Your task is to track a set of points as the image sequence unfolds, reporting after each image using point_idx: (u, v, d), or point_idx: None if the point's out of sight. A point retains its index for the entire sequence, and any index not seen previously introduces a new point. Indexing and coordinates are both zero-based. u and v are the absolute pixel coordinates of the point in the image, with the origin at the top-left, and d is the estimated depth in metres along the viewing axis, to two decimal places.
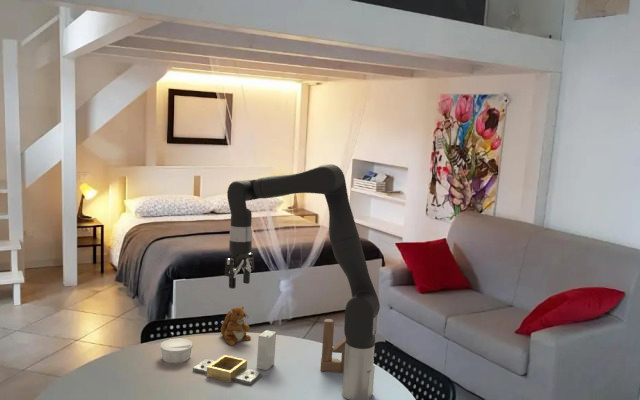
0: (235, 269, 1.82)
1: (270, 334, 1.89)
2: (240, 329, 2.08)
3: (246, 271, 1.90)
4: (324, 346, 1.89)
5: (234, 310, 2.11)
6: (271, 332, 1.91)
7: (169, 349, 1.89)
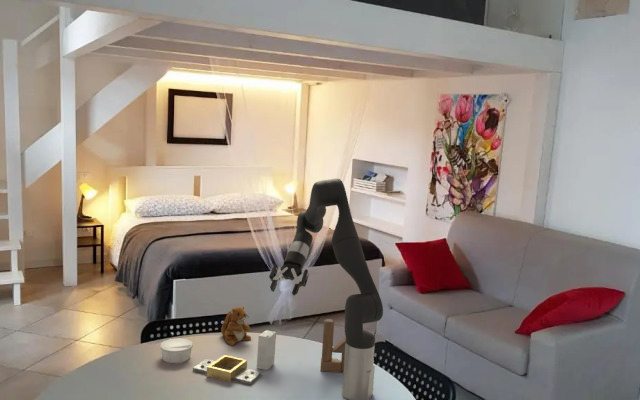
0: None
1: (270, 334, 1.89)
2: (240, 329, 2.08)
3: None
4: (324, 346, 1.89)
5: (234, 310, 2.11)
6: (271, 332, 1.91)
7: (169, 349, 1.89)
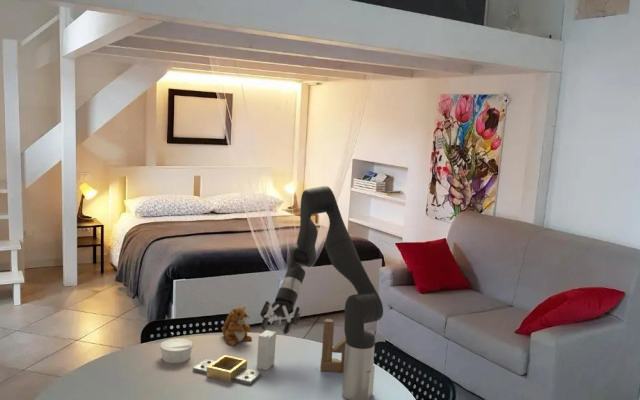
0: None
1: (270, 334, 1.89)
2: (241, 329, 2.08)
3: None
4: (324, 346, 1.89)
5: (235, 310, 2.10)
6: (271, 332, 1.91)
7: (169, 349, 1.89)
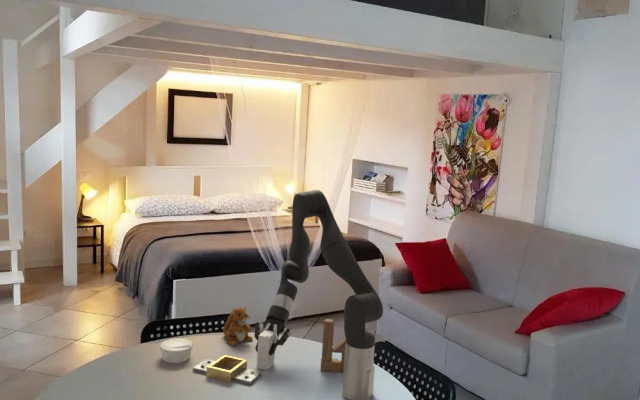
0: None
1: (270, 334, 1.89)
2: (241, 330, 2.08)
3: None
4: (324, 346, 1.89)
5: (236, 310, 2.10)
6: (271, 332, 1.91)
7: (169, 349, 1.89)
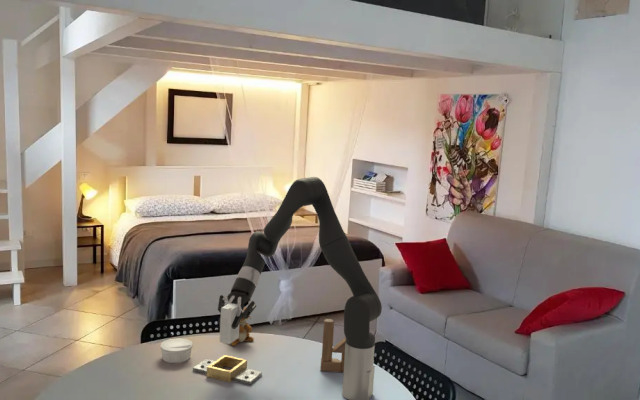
0: None
1: (233, 306, 1.81)
2: (242, 330, 2.07)
3: None
4: (324, 346, 1.89)
5: None
6: (235, 305, 1.83)
7: (169, 349, 1.89)
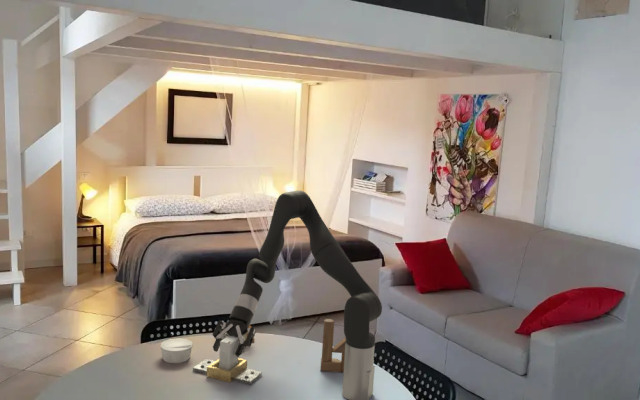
0: None
1: (232, 340, 1.82)
2: None
3: None
4: (324, 346, 1.89)
5: None
6: (234, 338, 1.84)
7: (169, 349, 1.89)
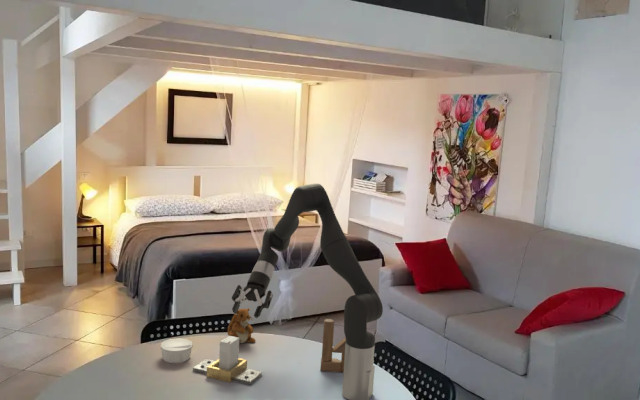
0: None
1: (232, 340, 1.82)
2: (242, 331, 2.07)
3: None
4: (324, 346, 1.89)
5: (238, 311, 2.10)
6: (234, 338, 1.84)
7: (169, 349, 1.89)
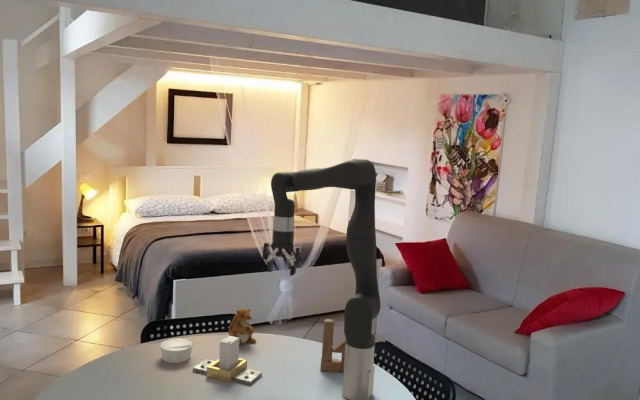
0: None
1: (232, 340, 1.82)
2: (243, 331, 2.06)
3: None
4: (324, 346, 1.89)
5: (239, 312, 2.09)
6: (234, 338, 1.84)
7: (169, 349, 1.89)
